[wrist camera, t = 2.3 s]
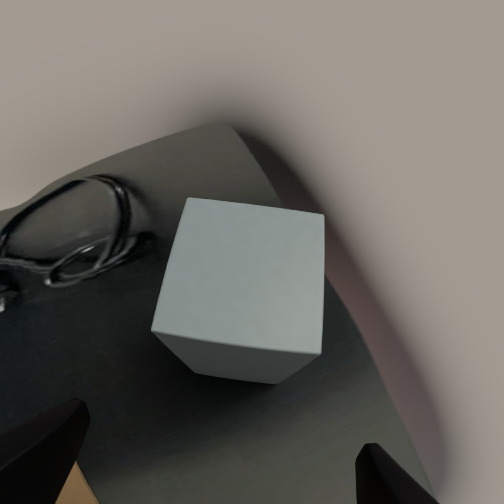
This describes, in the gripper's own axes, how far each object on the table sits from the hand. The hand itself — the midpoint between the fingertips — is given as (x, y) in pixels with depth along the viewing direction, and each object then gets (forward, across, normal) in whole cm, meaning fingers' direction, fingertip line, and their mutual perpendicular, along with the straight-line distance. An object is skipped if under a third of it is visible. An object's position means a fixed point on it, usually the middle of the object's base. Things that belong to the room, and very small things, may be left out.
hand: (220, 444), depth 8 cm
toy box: (+13, 0, +4) cm, 14 cm away
